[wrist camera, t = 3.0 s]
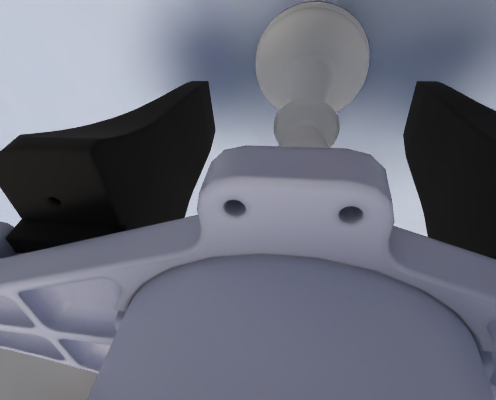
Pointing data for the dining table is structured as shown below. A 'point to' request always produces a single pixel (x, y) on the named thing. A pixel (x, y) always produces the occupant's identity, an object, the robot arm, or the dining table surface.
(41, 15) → the dining table surface
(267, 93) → the chess piece
